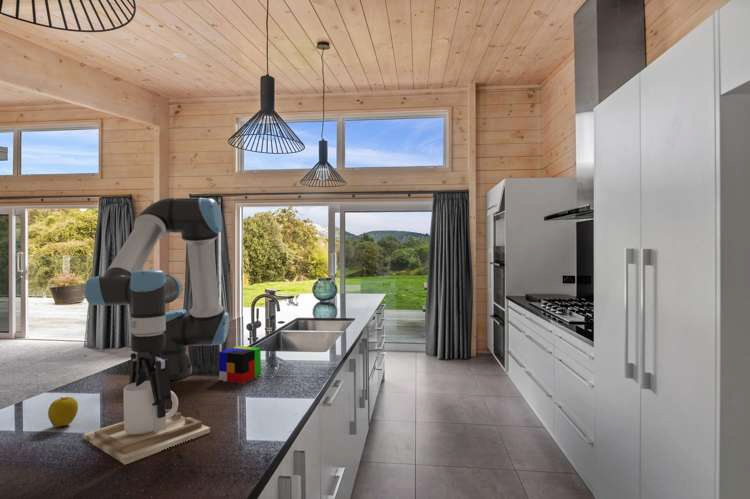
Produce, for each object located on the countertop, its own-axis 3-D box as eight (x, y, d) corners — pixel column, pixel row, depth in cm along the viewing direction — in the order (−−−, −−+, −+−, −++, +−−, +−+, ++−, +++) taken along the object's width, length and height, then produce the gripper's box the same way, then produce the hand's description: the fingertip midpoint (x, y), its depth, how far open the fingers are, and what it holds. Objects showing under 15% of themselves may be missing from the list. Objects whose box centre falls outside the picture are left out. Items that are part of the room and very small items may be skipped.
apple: (55, 433, 110) (54, 401, 110) (43, 427, 113) (43, 396, 113) (83, 424, 115) (82, 393, 115) (71, 419, 118) (71, 389, 118)
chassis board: (83, 438, 106) (83, 428, 106) (164, 413, 122) (164, 404, 122) (125, 464, 93) (125, 453, 93) (210, 432, 109) (209, 422, 109)
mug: (182, 418, 112) (181, 378, 112) (174, 431, 104) (173, 388, 104) (130, 422, 109) (130, 381, 109) (118, 436, 101) (118, 392, 101)
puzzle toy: (219, 380, 152) (218, 352, 152) (238, 373, 162) (238, 345, 162) (242, 383, 149) (242, 354, 149) (260, 375, 158) (260, 348, 158)
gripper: (112, 331, 110) (113, 420, 111) (155, 341, 97) (156, 442, 98) (142, 326, 116) (143, 411, 117) (187, 335, 103) (188, 431, 104)
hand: (149, 425), depth 107 cm, fingers closed on mug, 9 cm apart
